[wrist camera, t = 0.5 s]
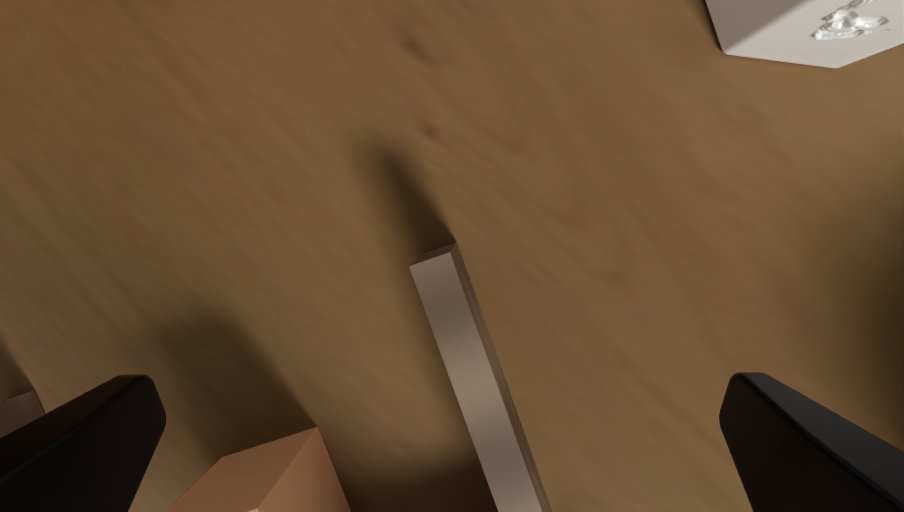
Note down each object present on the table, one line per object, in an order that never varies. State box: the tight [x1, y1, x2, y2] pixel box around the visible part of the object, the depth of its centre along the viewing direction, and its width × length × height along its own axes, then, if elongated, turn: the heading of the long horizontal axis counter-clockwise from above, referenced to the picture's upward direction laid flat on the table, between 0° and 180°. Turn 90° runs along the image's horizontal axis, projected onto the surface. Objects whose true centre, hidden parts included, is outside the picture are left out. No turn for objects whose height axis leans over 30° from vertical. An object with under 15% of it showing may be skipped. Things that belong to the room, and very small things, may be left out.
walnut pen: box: [0, 242, 552, 512], centre depth 20 cm, size 16×23×4 cm
